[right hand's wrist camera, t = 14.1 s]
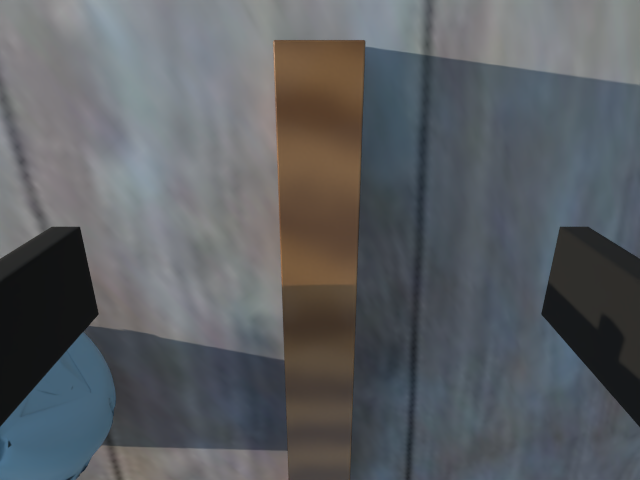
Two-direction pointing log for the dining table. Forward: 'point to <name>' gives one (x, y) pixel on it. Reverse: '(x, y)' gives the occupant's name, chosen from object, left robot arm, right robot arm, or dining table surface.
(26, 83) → the dining table surface
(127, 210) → the dining table surface
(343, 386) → the beam
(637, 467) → the dining table surface
